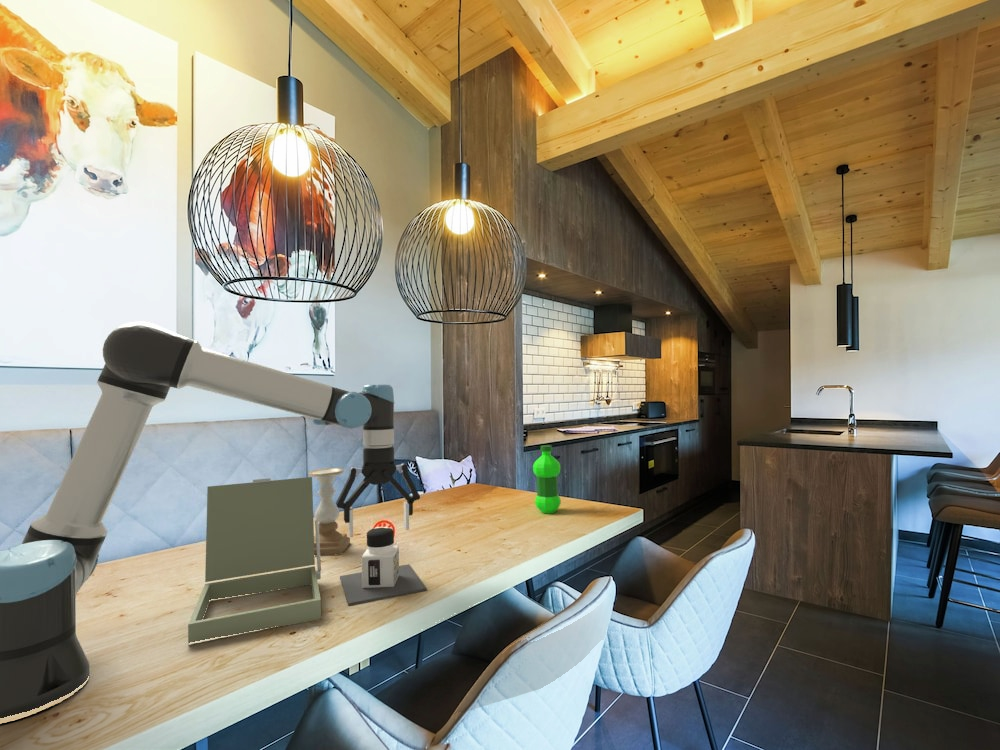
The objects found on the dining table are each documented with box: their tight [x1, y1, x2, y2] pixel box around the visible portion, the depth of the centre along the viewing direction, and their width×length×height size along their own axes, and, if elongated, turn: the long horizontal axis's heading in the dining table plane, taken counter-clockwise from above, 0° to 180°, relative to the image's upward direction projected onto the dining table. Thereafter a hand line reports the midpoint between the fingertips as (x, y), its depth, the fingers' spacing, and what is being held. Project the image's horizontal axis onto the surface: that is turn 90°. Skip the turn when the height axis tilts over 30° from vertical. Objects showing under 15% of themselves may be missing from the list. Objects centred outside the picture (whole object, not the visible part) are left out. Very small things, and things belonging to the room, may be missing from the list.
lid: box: [204, 476, 316, 583], centre depth 123 cm, size 23×24×2 cm
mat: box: [339, 563, 428, 606], centre depth 122 cm, size 18×18×1 cm
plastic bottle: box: [532, 444, 562, 514], centre depth 188 cm, size 10×10×25 cm
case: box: [187, 519, 322, 644], centre depth 111 cm, size 25×25×15 cm
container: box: [361, 526, 400, 588], centre depth 122 cm, size 8×8×13 cm
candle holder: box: [307, 467, 351, 556], centre depth 150 cm, size 11×11×24 cm
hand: (379, 532), depth 122 cm, fingers open, 13 cm apart
